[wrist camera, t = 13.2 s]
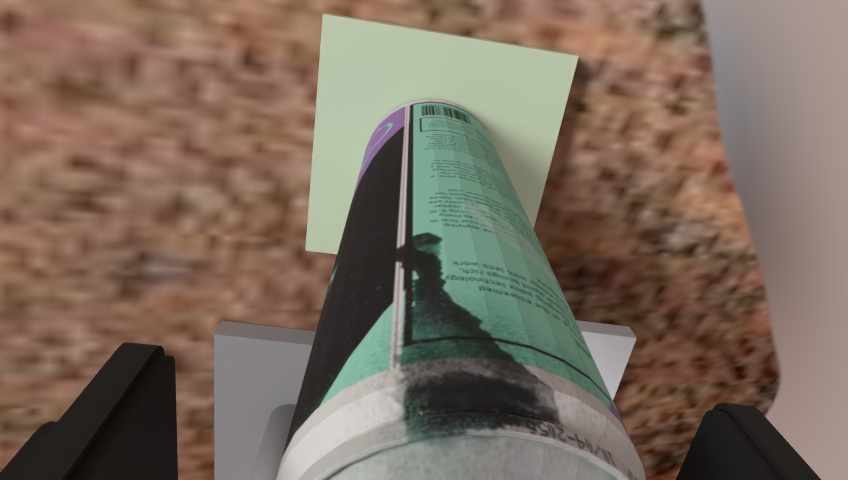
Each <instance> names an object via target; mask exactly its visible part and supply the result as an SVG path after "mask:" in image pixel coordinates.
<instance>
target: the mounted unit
mask: <svg viewBox="0 0 848 480" xmlns="http://www.w3.org/2000/svg"><path fill="white" fill-rule="evenodd" d="M315 334H316V331H309V330H300V329H292V328H283V327H274V326H266V325H257V324H248V323H240V322H231V321H221V323H220V325H219V327H218V328H217V330H216V332H215V334H214V427H215V480H276V478H277V474H278V470H279V467H280V463H281V459H282V456H283V452H284V448H285V445H286V441H287V437H288V434H289V430H290V426H291V423H292V419H293V415H294V412H295V408H296V404H297V401H298V397H299V393H300V390H301V386H302V382H303V378H304V375H305V371H306V367H307V364H308V360H309V356H310V353H311V349H312V345H313V342H314V338H315Z"/></svg>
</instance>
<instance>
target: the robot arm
mask: <svg viewBox="0 0 848 480" xmlns="http://www.w3.org/2000/svg"><path fill="white" fill-rule="evenodd" d="M0 480H178V462H177V421H176V381H175V360H174V357H172V356H166V355H165V353H164V349H163V347H161V346H157V345H147V344H137V343H127V342H126V343H123V344H122V345H121V346H120V347H119V348H118V349H117V350H116V351H115V352H114V354H113V355H112V356H111V357H110V359H109V360H108V361H107V362H106V363H105V365H104V366H103V367H102V368H101V370H100V371H99V372H98V373H97V374H96V376H95V377H94V378H93V379H92V381H91V382H90V383H89V384H88V385H87V387H86V388H85V389H84V390H83V392H82V393H81V394H80V395H79V396H78V398H77V399H76V400H75V401H74V402H73V404H72V405H71V406H70V407H69V409H68V410H67V411H66V412H65V413H64V415H63V416H62V417H61V418H60V420H59V421H58V422H52V421H50V422H48V423H46V424H44V425H42V426H41V427H40V428H39V429H38V430H37V431H36V432H35V433H34V434H33V435H32V436H31V437H30V439H29V440H28V441H27V442H26V443H25V444H24V446H23V447H22V448H21V449H20V450H19V451H18V453H17V454H16V455H15V456H14V457H13V458H12V460H11V461H10V462H9V463H8V464H7V466H6V467H5V468H4V469H3V470H2V471H1V473H0ZM676 480H821V479H820V478H819V477H818V476H817V474H816V473H815V472H814V471H813V470H812V469H811V468H810V467H809V465H808V464H807V463H806V462H805V461H804V460H803V459H802V458H801V456H800V455H799V454H798V453H797V452H796V451H795V450H794V449H793V448H792V447H791V445H790V444H789V443H788V442H787V441H786V440H785V439H784V438H783V436H782V435H781V434H780V433H779V432H778V431H777V430H776V429H775V427H774V426H773V425H772V424H771V423H770V422H769V421H768V420H767V419H766V417H765V416H764V415H763V414H762V413H761V412H760V411H759V410H758V409H757V408H755V407H753V406H749V405H739V404H729V403H719V404H717V405H716V406H714V408H713V409H712V410H709V411H708V412H706V414H705V415H704V417H703V419H702V421H701V424H700V426H699V428H698V431H697V433H696V435H695V437H694V440H693V442H692V444H691V446H690V449H689V451H688V453H687V455H686V458H685V460H684V462H683V464H682V467H681V469H680V471H679V474H678V476H677V478H676Z"/></svg>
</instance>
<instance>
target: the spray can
mask: <svg viewBox="0 0 848 480" xmlns="http://www.w3.org/2000/svg"><path fill="white" fill-rule="evenodd" d="M276 480H646V478H645V474H644V469H643V465H642V463H641V460H640V458H639V456H638V454H637V452H636V450H635V448H634V445H633V443H632V441H631V439H630V437H629V435H628V432H627V430H626V428H625V426H624V424H623V422H622V419H621V417H620V415H619V413H618V411H617V409H616V407H615V404H614V402H613V400H612V398H611V396H610V394H609V391H608V389H607V387H606V385H605V383H604V381H603V379H602V376H601V374H600V372H599V370H598V368H597V366H596V363H595V361H594V359H593V357H592V355H591V353H590V350H589V348H588V346H587V344H586V342H585V340H584V338H583V335H582V333H581V331H580V329H579V327H578V325H577V322H576V320H575V318H574V316H573V314H572V312H571V309H570V307H569V305H568V303H567V301H566V299H565V297H564V294H563V292H562V290H561V288H560V286H559V284H558V281H557V279H556V277H555V275H554V273H553V271H552V269H551V266H550V264H549V262H548V260H547V258H546V256H545V253H544V251H543V249H542V247H541V245H540V243H539V240H538V238H537V236H536V234H535V232H534V230H533V228H532V225H531V223H530V221H529V219H528V217H527V215H526V212H525V210H524V208H523V206H522V204H521V202H520V199H519V197H518V195H517V193H516V191H515V189H514V187H513V184H512V182H511V180H510V178H509V176H508V174H507V171H506V169H505V167H504V165H503V163H502V161H501V159H500V156H499V154H498V152H497V150H496V148H495V146H494V143H493V141H492V139H491V137H490V135H489V134H488V132H487V130H486V128H485V127H484V126H483V124H482V123H481V122H480V121H479V120H478V118H477V117H476V116H475V115H473V114H472V113H471V112H470V111H468V110H467V109H466V108H464V107H462V106H460V105H458V104H456V103H454V102H450V101H446V100H443V99H432V98H426V99H419V100H414V101H411V102H408V103H405V104H402V105H401V106H399V107H397V108H395V109H394V110H392V111H391V112H389V113H388V114H387V115H386V116H385V117H384V118H383V119H382V120H381V121H380V122H379V124H378V125H377V126H376V128H375V129H374V131H373V133H372V135H371V137H370V139H369V141H368V144H367V147H366V150H365V154H364V158H363V161H362V165H361V169H360V172H359V176H358V180H357V184H356V187H355V191H354V195H353V198H352V202H351V206H350V209H349V213H348V217H347V220H346V224H345V228H344V231H343V235H342V239H341V242H340V246H339V250H338V253H337V257H336V261H335V264H334V268H333V272H332V275H331V279H330V283H329V287H328V290H327V294H326V298H325V301H324V305H323V309H322V312H321V316H320V320H319V323H318V327H317V331H316V334H315V338H314V342H313V345H312V349H311V353H310V356H309V360H308V364H307V367H306V371H305V375H304V378H303V382H302V386H301V390H300V393H299V397H298V401H297V404H296V408H295V412H294V415H293V419H292V423H291V426H290V430H289V434H288V437H287V441H286V445H285V448H284V452H283V456H282V459H281V463H280V467H279V470H278V474H277V478H276Z"/></svg>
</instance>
